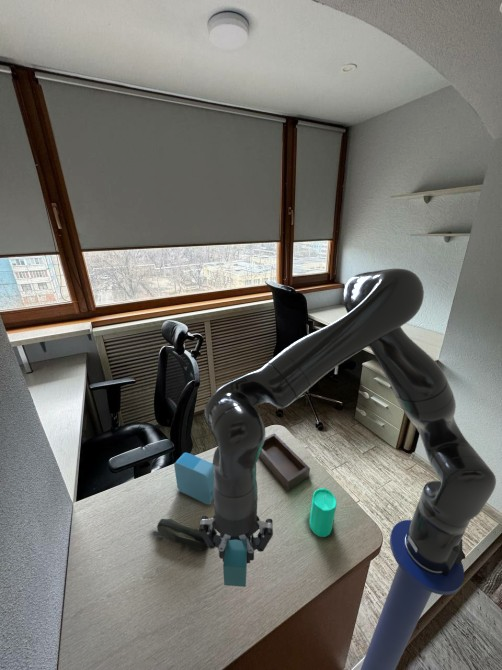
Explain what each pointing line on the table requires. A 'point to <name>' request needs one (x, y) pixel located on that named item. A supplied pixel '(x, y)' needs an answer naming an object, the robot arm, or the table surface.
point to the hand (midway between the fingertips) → (236, 556)
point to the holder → (283, 462)
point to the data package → (195, 477)
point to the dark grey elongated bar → (180, 533)
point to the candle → (322, 512)
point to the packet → (235, 564)
